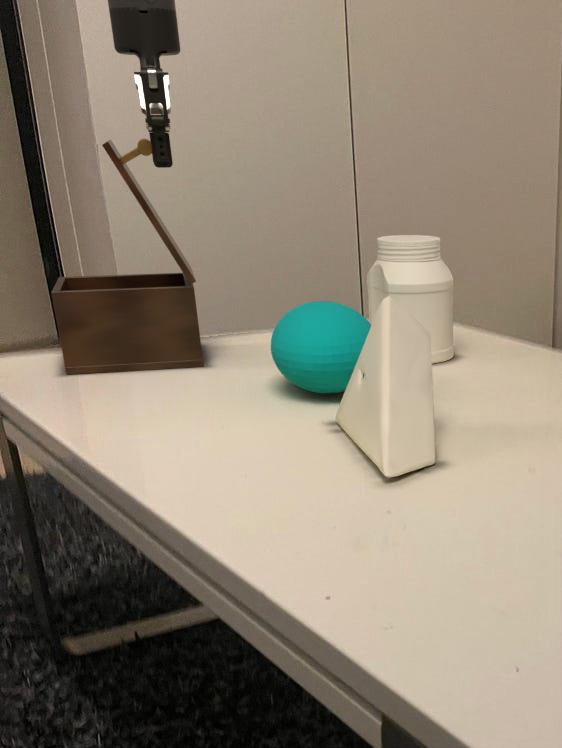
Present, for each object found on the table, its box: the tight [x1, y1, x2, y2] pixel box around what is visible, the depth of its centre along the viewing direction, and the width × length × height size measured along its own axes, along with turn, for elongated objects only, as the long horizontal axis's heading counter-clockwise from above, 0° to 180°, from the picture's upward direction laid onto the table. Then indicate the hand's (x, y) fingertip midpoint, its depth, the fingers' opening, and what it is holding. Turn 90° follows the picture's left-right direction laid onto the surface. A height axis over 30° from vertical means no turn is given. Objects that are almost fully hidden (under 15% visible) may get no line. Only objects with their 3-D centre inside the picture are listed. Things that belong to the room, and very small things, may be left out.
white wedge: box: [335, 297, 436, 479], centre depth 95 cm, size 15×6×20 cm
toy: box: [270, 300, 372, 395], centre depth 116 cm, size 18×13×10 cm
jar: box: [366, 234, 455, 365], centre depth 132 cm, size 12×10×15 cm
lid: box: [101, 138, 197, 285], centre depth 125 cm, size 18×14×5 cm
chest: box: [50, 272, 205, 376], centre depth 130 cm, size 17×14×10 cm
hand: (163, 165), depth 123 cm, fingers closed on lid, 6 cm apart
